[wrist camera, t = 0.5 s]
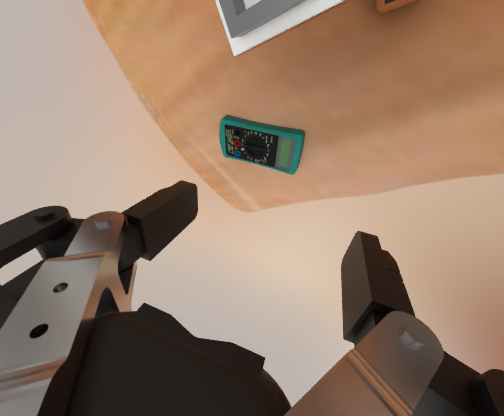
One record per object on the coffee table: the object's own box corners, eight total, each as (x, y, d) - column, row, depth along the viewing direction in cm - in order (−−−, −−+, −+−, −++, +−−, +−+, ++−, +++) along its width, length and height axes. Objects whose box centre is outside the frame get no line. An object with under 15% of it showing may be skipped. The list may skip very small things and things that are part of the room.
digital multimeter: (224, 113, 36) (215, 118, 34) (307, 129, 32) (302, 137, 30) (226, 150, 41) (219, 157, 39) (298, 169, 37) (294, 177, 35)
